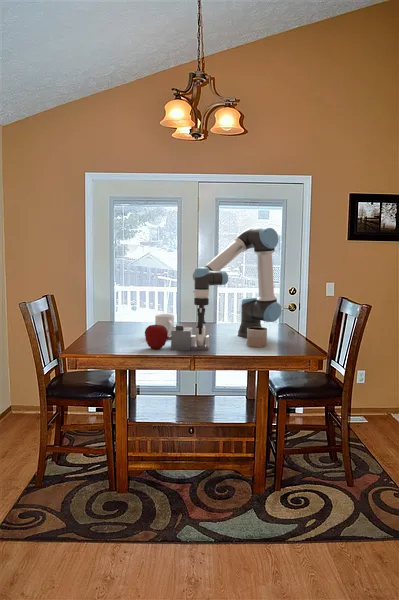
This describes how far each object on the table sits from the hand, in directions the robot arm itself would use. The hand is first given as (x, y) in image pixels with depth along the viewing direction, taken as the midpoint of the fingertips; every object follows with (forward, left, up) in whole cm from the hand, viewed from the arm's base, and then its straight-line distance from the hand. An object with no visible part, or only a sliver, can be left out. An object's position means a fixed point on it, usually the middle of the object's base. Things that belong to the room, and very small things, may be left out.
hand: (200, 338), depth 251 cm
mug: (+22, -27, -6) cm, 35 cm away
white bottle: (0, 0, -4) cm, 4 cm away
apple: (+23, +4, -6) cm, 24 cm away
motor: (+7, 0, -5) cm, 9 cm away
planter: (-30, -11, -6) cm, 32 cm away
